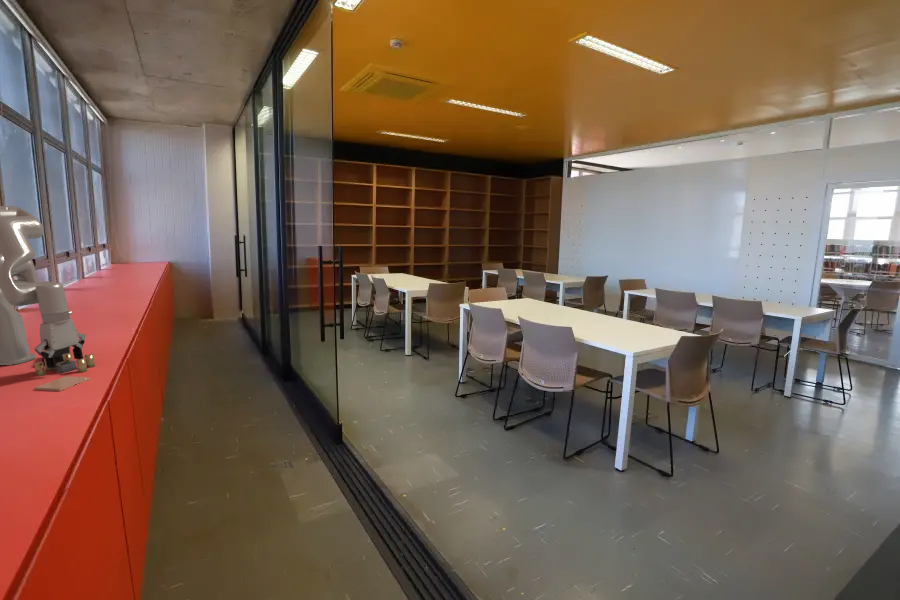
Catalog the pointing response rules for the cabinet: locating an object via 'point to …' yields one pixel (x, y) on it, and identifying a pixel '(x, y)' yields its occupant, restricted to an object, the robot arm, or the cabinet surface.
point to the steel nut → (65, 366)
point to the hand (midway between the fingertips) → (65, 363)
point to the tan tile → (61, 383)
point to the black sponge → (59, 355)
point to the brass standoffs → (67, 357)
